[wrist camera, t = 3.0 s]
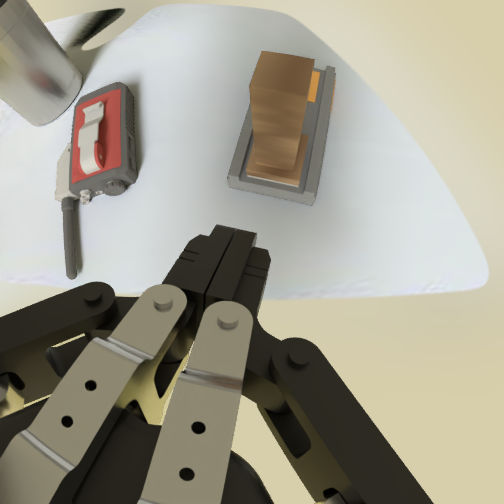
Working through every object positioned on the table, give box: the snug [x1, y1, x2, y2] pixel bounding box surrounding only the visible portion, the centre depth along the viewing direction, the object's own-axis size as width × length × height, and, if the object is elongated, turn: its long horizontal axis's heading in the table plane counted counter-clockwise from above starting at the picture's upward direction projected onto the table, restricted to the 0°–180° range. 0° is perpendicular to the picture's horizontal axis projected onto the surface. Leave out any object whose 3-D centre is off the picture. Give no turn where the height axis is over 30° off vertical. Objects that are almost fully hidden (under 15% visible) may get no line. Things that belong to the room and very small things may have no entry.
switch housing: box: [227, 66, 336, 205], centre depth 24 cm, size 7×14×3 cm, turn 166°
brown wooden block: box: [246, 51, 314, 186], centre depth 18 cm, size 4×4×10 cm
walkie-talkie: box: [55, 82, 137, 280], centre depth 24 cm, size 9×4×20 cm
